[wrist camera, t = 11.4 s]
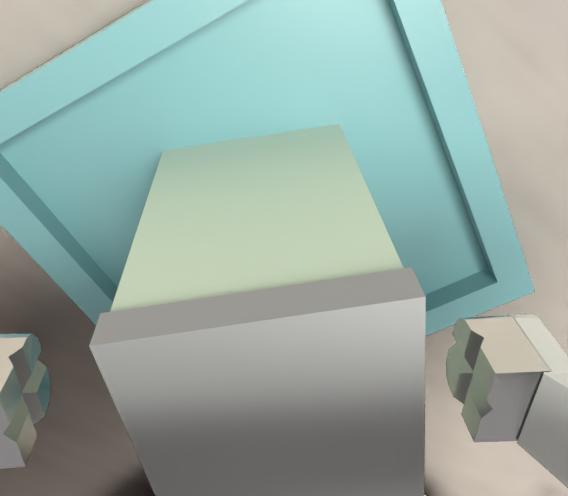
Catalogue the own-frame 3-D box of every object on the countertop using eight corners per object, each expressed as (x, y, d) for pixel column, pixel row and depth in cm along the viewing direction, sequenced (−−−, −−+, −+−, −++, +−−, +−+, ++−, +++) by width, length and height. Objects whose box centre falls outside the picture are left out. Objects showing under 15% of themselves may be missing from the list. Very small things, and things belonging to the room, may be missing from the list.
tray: (198, 401, 21) (195, 430, 20) (-54, 122, 15) (-79, 140, 14) (516, 267, 19) (535, 291, 18) (379, -140, 12) (394, -145, 11)
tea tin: (198, 294, 18) (172, 533, 11) (158, 147, 15) (89, 346, 8) (354, 271, 18) (423, 498, 11) (342, 119, 15) (425, 296, 8)
